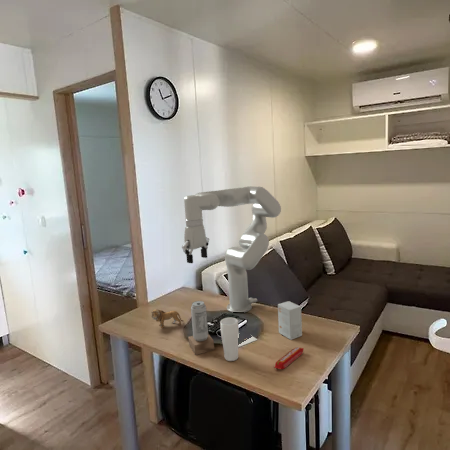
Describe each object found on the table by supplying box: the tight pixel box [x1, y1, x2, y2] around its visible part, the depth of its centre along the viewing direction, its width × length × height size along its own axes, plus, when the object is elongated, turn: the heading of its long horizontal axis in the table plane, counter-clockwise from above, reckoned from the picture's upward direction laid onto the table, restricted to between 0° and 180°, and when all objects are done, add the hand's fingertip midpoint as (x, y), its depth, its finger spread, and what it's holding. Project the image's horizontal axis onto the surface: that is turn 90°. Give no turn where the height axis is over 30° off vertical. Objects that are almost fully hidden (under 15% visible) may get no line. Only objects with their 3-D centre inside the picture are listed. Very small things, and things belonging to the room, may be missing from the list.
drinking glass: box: [219, 316, 240, 362], centre depth 137 cm, size 7×7×15 cm
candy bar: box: [274, 347, 304, 370], centre depth 134 cm, size 16×4×3 cm, turn 138°
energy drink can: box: [190, 300, 209, 341], centre depth 145 cm, size 6×6×15 cm
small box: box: [277, 300, 303, 341], centre depth 153 cm, size 8×6×13 cm
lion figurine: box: [150, 308, 184, 329], centre depth 169 cm, size 15×5×9 cm, turn 112°
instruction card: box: [238, 335, 258, 348], centre depth 151 cm, size 12×9×1 cm
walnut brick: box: [188, 333, 215, 355], centre depth 147 cm, size 8×8×4 cm
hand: (197, 260), depth 165 cm, fingers open, 9 cm apart
